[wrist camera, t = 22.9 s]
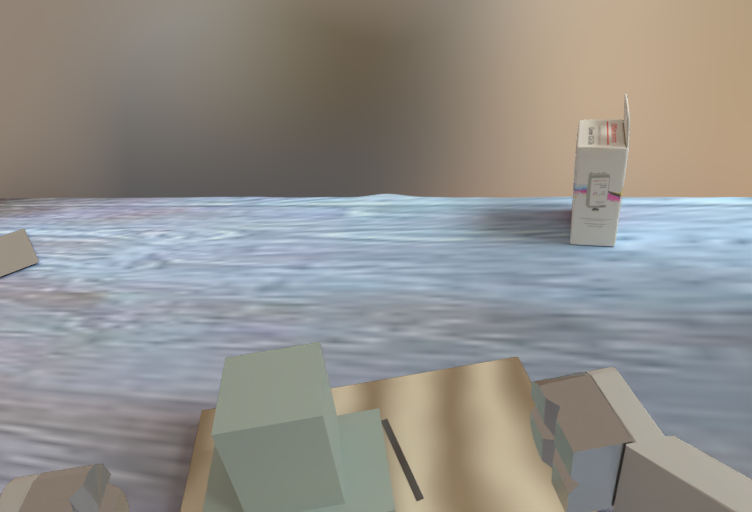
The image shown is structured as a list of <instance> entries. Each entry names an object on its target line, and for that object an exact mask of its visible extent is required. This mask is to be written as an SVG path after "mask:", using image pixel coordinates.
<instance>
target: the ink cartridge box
mask: <svg viewBox="0 0 752 512" xmlns="http://www.w3.org/2000/svg"><path fill="white" fill-rule="evenodd" d="M624 101H625V102H624V120H580V121H579V126H578V134H577V143H576V156H575V170H574V186H573V202H572V217H571V232H570V244H577V245H595V246H615V241H616V234H617V227H618V220H619V213H620V206H621V199H622V191H623V185H624V179H625V171H626V165H627V157H628V148H629V127H630V113H629V106H628V99H627V93H625V100H624Z"/></svg>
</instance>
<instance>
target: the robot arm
mask: <svg viewBox="0 0 752 512" xmlns="http://www.w3.org/2000/svg"><path fill="white" fill-rule="evenodd" d="M531 397H532V399H533V401H534V403H535V407H534V408H533V409H532V410H531V411H530V425H531V430H532V435H533V439H534V442H535V445H536V448H537V451H538V453H539V455H540V458H541V460H542V461H543V462H544V463H546V464H547V465H549V466H550V467H551V468H552V479H551V483H552V485H553V487H554V489H555V491H556V494H557V496H558V498H559V500H560V502H561V505H562V507H563V509H564V511H565V512H591V511H597V510H603V509H609V508H613V511H614V512H752V479H750V478H748V477H746V476H744V475H743V474H741V473H739V472H737V471H736V470H734V469H732V468H730V467H728V466H727V465H725V464H723V463H721V462H720V461H718V460H716V459H714V458H713V457H711V456H709V455H707V454H705V453H704V452H702V451H700V450H698V449H697V448H695V447H693V446H691V445H689V444H688V443H686V442H684V441H682V440H681V439H679V438H677V437H675V436H673V435H672V436H664V435H663V433H662V432H661V430H660V429H659V428H658V426H657V425H656V423H655V422H654V421H653V419H652V418H651V417H650V415H649V414H648V412H647V411H646V410H645V408H644V407H643V405H642V404H641V403H640V401H639V400H638V398H637V397H636V396H635V394H634V393H633V391H632V390H631V389H630V387H629V386H628V384H627V383H626V382H625V380H624V379H623V378H622V376H621V375H620V373H619V372H618V371H617V370H616V369H614V368H613V367H608V368H603V369H598V370H592V371H587V372H579V373H574V374H569V375H564V376H560V377H555V378H550V379H545V380H540V381H535V382H533V384H532V386H531ZM110 475H111V474H110V472H109V471H108V470H107V469H106V467H105V466H104V465H103V464H95V465H89V466H83V467H76V468H70V469H64V470H58V471H51V472H45V473H40V474H34V475H28V476H23V477H17V478H14V479H13V480H12V481H11V482H10V483H9V484H8V485H6V487H5V489H4V490H3V492H2V494H1V496H0V512H129V506H128V502H127V499H126V496H125V494H124V493H123V491H122V490H121V488H118V487H116V486H114V485H111V484H109V483H108V481H109V478H110Z"/></svg>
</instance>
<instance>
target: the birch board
mask: <svg viewBox="0 0 752 512" xmlns="http://www.w3.org/2000/svg"><path fill="white" fill-rule="evenodd" d="M531 386H532V383H531V381H530V379H529V377H528V375H527V373H526V371H525V369H524V367H523V365H522V364H521V362H520V360H519V358H518V357H513V358H507V359H501V360H495V361H489V362H483V363H478V364H472V365H466V366H460V367H454V368H448V369H442V370H437V371H431V372H425V373H419V374H413V375H407V376H401V377H395V378H390V379H384V380H378V381H372V382H366V383H360V384H354V385H349V386H343V387H337V388H331V392H332V396H333V400H334V405H335V409H336V413H337V416H338V415H343V414H349V413H355V412H361V411H366V410H372V409H378V408H379V410H380V416H381V423H382V429H383V435H384V441H385V448H386V454H387V460H388V466H389V473H390V479H391V485H392V492H393V498H394V504H395V510H396V512H565V511H564V509H563V507H562V505H561V502H560V500H559V498H558V496H557V494H556V491H555V489H554V487H553V485H552V483H551V479H552V468H551V467H550V466H549V465H547V464H546V463H544V462H543V461H542V460H541V458H540V455H539V453H538V451H537V448H536V445H535V442H534V439H533V435H532V430H531V425H530V411H531V410H532V409H533V408H534V407H535V403H534V401H533V399H532V397H531ZM215 412H216V408H214V409H208V410H202V413H201V417H200V422H199V427H198V431H197V436H196V441H195V445H194V450H193V455H192V459H191V464H190V469H189V473H188V478H187V483H186V487H185V492H184V497H183V501H182V506H181V511H180V512H203V506H204V501H205V495H206V489H207V484H208V478H209V472H210V467H211V461H212V455H213V450H214V444H215V443H214V441H213V438H212V436H211V433H212V428H213V422H214V417H215ZM591 512H597V511H591Z"/></svg>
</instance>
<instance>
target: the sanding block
mask: <svg viewBox="0 0 752 512" xmlns="http://www.w3.org/2000/svg"><path fill="white" fill-rule="evenodd" d="M211 436H212V438H213V441H214V443H215V444H214V450H213V455H212V461H211V467H210V472H209V478H208V484H207V489H206V495H205V501H204V506H203V512H396V510H395V504H394V498H393V492H392V485H391V479H390V473H389V466H388V460H387V454H386V448H385V441H384V435H383V429H382V423H381V416H380V410H379V408H378V409H372V410H366V411H361V412H355V413H349V414H343V415H338V416H337V413H336V409H335V405H334V400H333V396H332V392H331V387H330V383H329V379H328V374H327V370H326V366H325V361H324V357H323V353H322V348H321V344H320V342H317V343H311V344H305V345H299V346H293V347H287V348H281V349H275V350H269V351H263V352H258V353H252V354H246V355H240V356H234V357H228V358H225V363H224V369H223V374H222V380H221V385H220V390H219V396H218V401H217V406H216V412H215V417H214V422H213V428H212V433H211Z"/></svg>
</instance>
